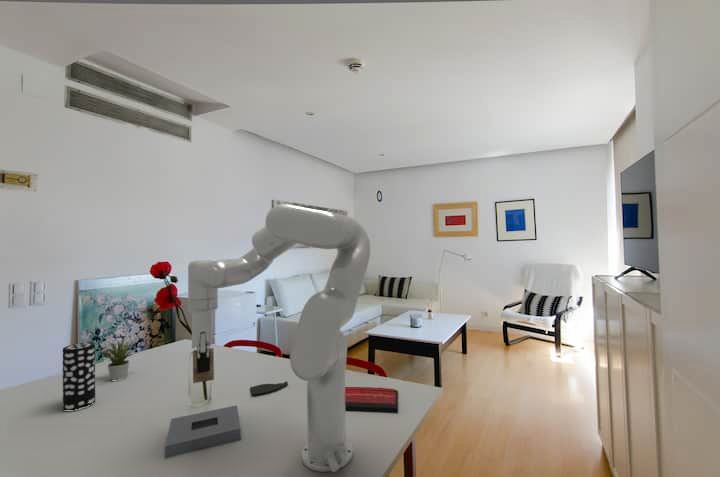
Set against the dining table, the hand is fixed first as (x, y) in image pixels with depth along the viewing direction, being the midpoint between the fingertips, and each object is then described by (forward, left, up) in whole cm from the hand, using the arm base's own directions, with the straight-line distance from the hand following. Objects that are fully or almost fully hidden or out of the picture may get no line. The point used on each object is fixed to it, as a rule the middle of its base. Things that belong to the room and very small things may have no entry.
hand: (203, 369), depth 93 cm
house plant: (+61, +32, -18) cm, 71 cm away
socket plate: (0, 0, -18) cm, 18 cm away
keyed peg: (0, 0, -3) cm, 3 cm away
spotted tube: (+38, +39, -18) cm, 57 cm away
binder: (-2, -49, -19) cm, 53 cm away
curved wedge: (+21, -20, -19) cm, 35 cm away
